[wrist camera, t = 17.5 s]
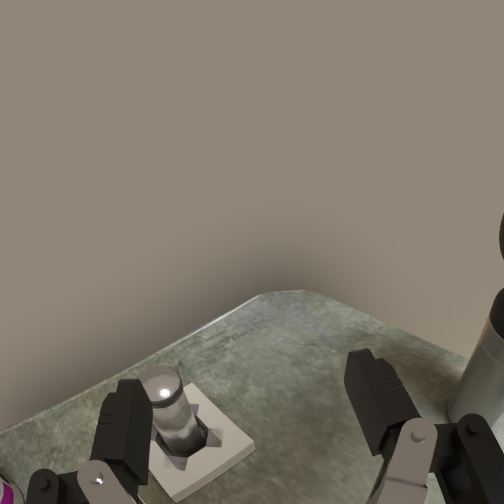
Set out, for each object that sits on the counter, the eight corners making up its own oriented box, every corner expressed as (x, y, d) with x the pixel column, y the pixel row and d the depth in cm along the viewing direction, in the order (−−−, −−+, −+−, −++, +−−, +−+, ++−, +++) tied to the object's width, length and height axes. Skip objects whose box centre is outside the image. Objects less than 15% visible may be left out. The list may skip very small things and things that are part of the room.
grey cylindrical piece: (190, 423, 40) (165, 358, 34) (212, 446, 37) (189, 385, 31) (161, 441, 38) (126, 379, 31) (181, 465, 34) (147, 409, 28)
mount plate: (195, 392, 46) (191, 382, 45) (255, 449, 36) (254, 441, 35) (125, 432, 38) (119, 424, 37) (176, 503, 29) (170, 497, 28)
